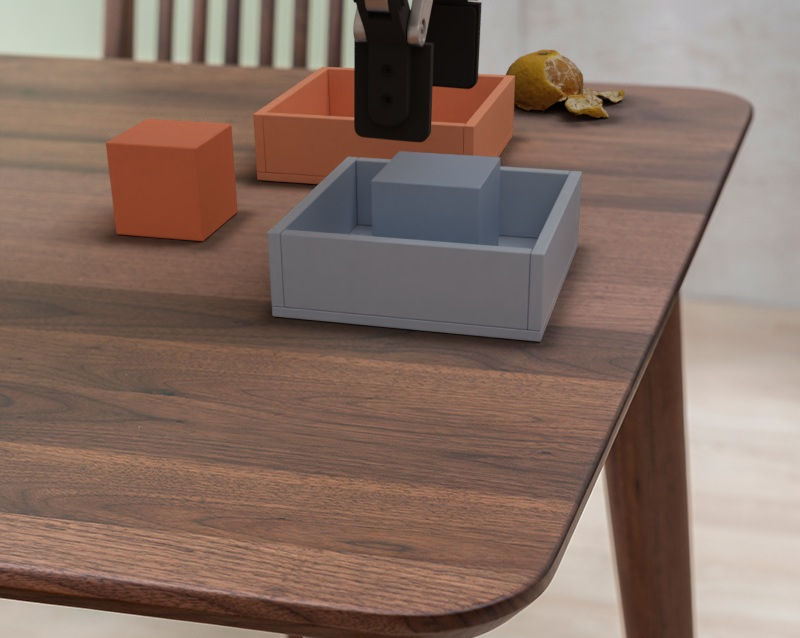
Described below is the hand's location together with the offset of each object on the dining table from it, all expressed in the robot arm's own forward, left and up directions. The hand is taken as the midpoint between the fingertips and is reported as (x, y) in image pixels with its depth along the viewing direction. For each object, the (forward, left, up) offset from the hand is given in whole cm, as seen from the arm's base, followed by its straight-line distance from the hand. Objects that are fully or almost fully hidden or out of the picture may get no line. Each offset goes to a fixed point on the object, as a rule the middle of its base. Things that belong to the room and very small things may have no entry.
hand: (420, 109), depth 57 cm
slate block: (+1, 0, -8) cm, 8 cm away
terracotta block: (-15, +5, -8) cm, 18 cm away
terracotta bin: (-7, +20, -8) cm, 23 cm away
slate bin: (+1, 0, -8) cm, 8 cm away
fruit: (+2, +35, -8) cm, 36 cm away
